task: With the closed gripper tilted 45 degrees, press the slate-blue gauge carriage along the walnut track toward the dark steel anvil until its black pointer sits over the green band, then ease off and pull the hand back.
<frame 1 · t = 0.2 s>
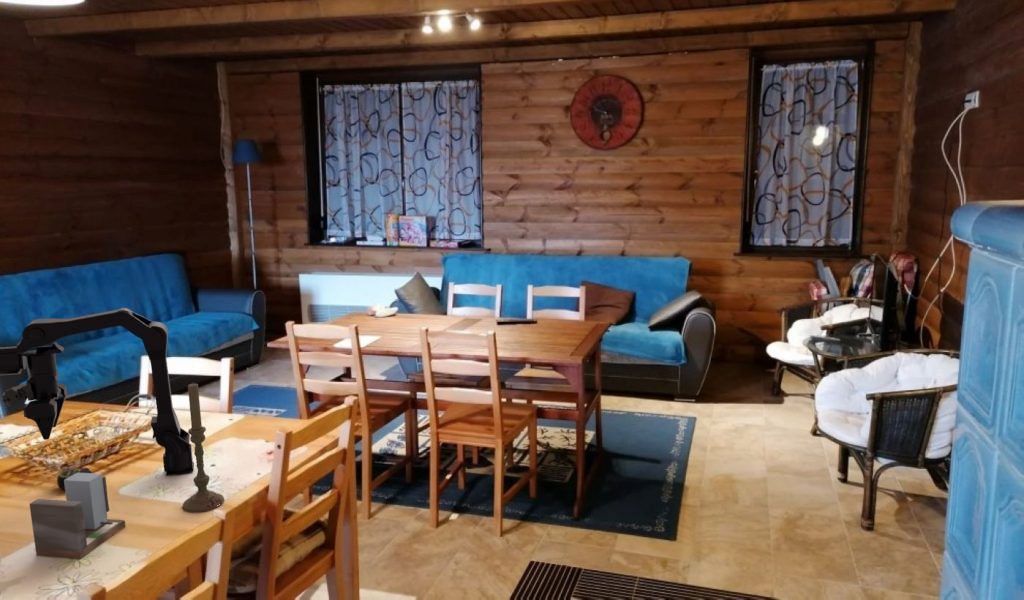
hand: (49, 433, 181), 15 cm above the table, fingers open, 9 cm apart
gauge carriage: (92, 500, 160), point 7 cm above the table, slide at 0.0 cm
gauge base: (83, 536, 159), on the table
candlestick holder: (203, 504, 174), on the table
tape measure: (77, 486, 185), on the table
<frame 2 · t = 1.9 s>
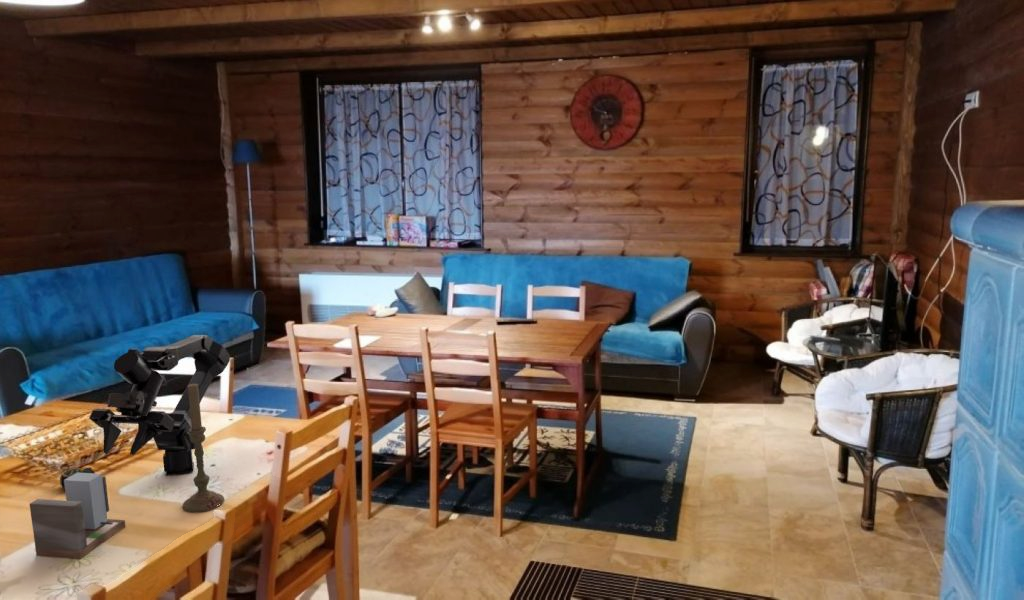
hand: (118, 453, 170), 14 cm above the table, fingers open, 6 cm apart
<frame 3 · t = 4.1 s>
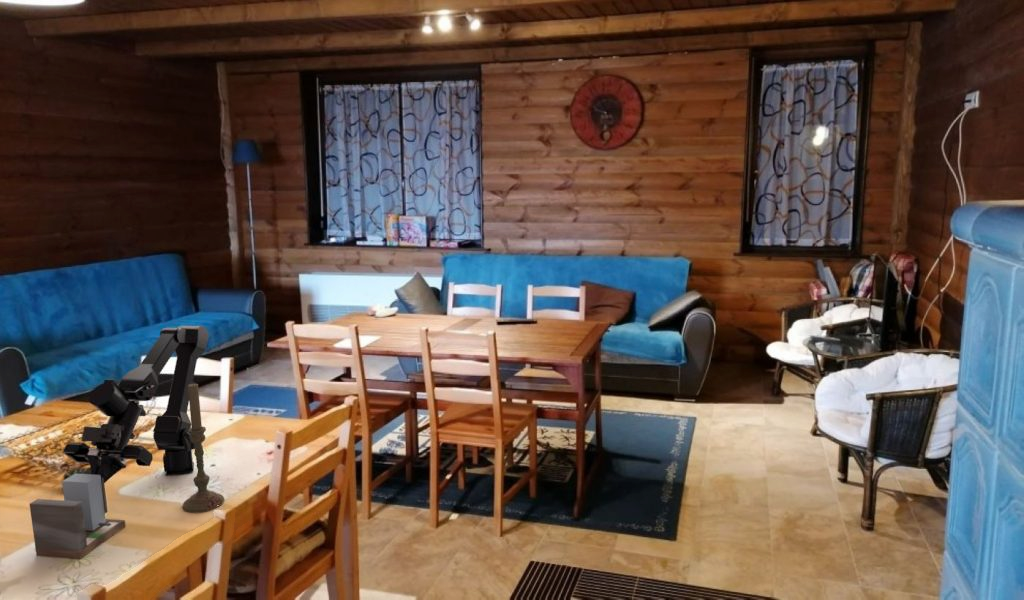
hand: (92, 490, 161), 9 cm above the table, fingers closed, pressing on gauge carriage
gauge carriage: (90, 501, 159), point 7 cm above the table, slide at 0.6 cm, touching gripper
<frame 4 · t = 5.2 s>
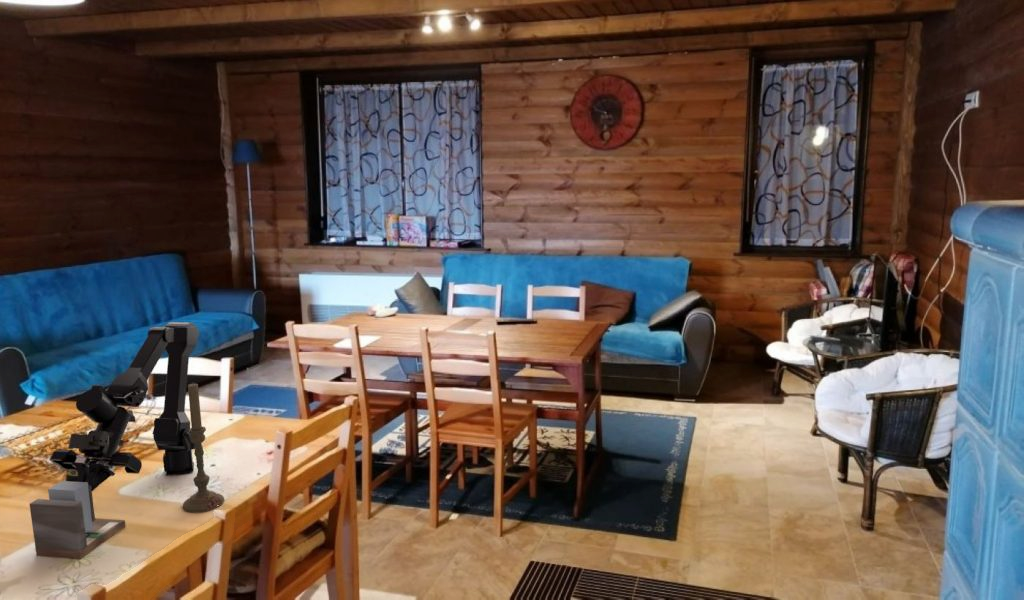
hand: (80, 498, 158), 9 cm above the table, fingers closed
gauge carriage: (77, 509, 155), point 7 cm above the table, slide at 4.5 cm
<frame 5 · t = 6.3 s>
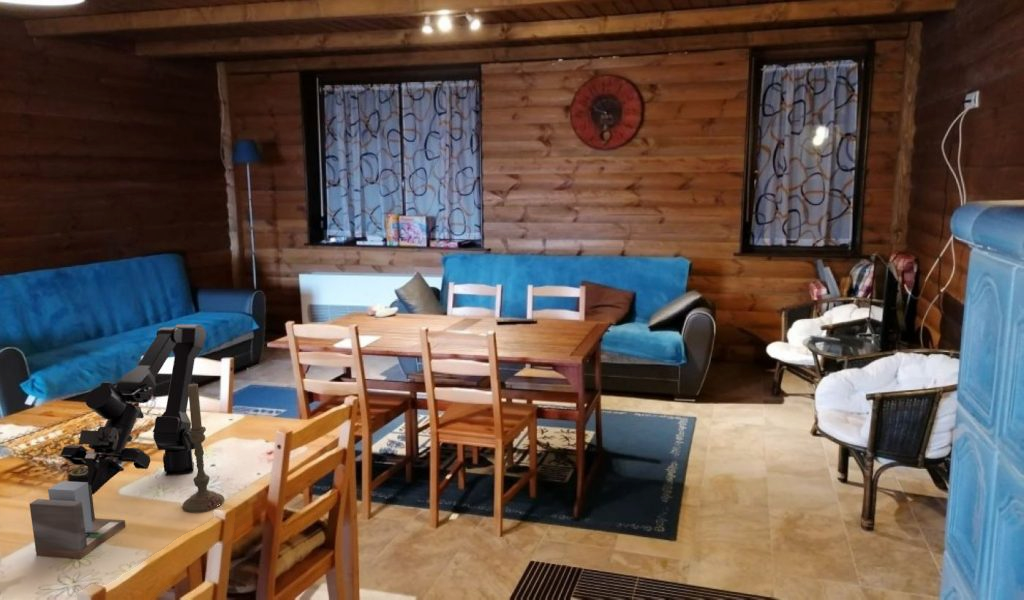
hand: (90, 493, 161), 8 cm above the table, fingers closed
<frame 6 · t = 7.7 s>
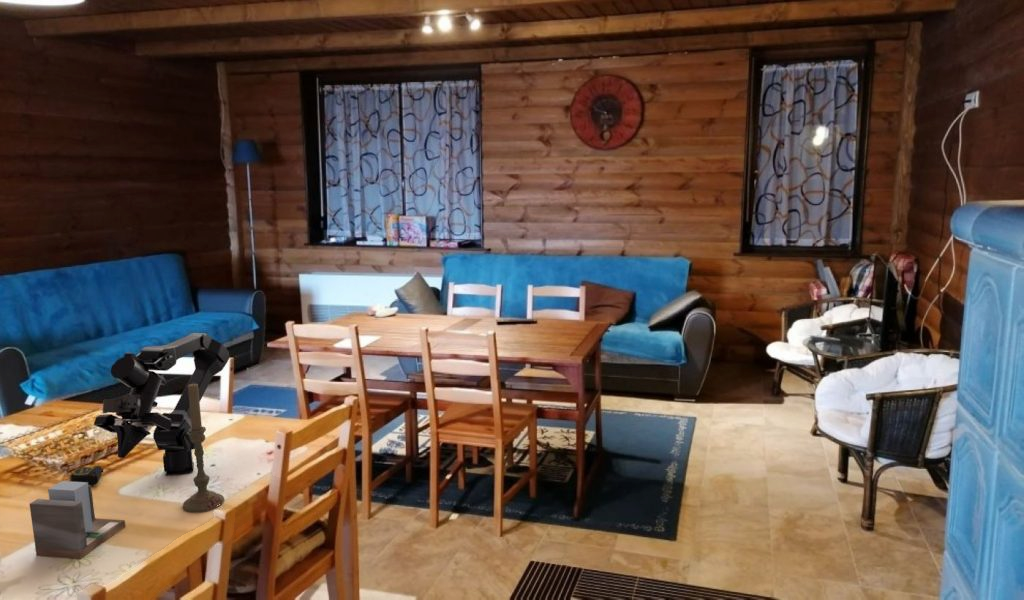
hand: (120, 457, 171), 12 cm above the table, fingers closed
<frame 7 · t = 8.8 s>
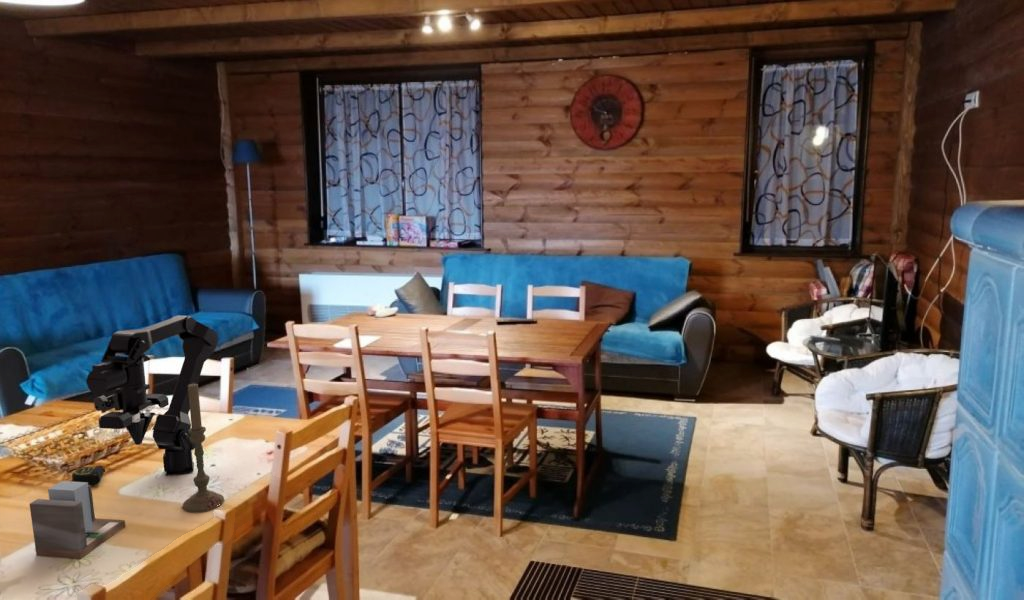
hand: (138, 444, 180), 12 cm above the table, fingers closed
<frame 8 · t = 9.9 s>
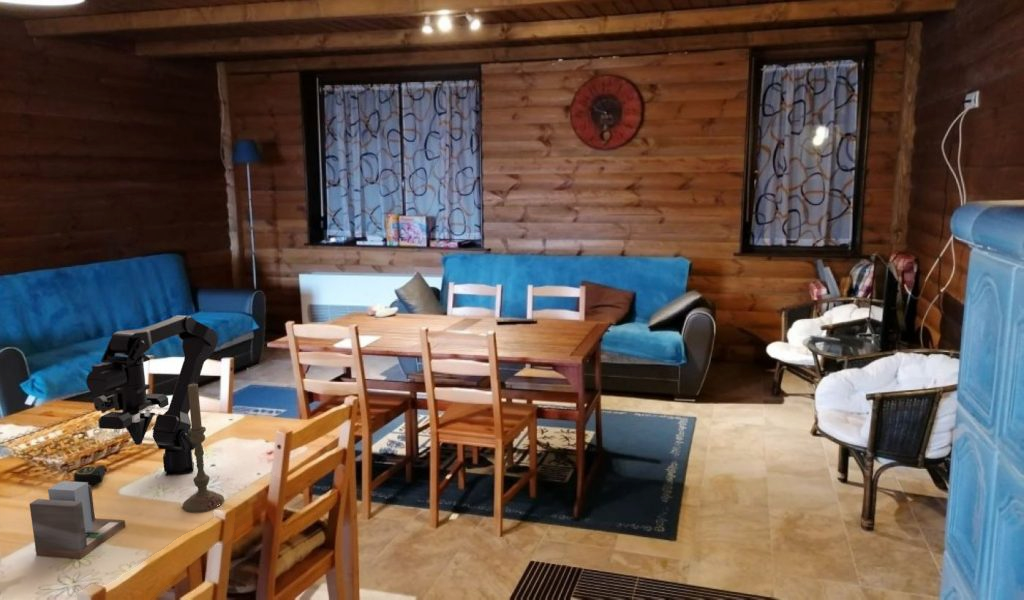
hand: (138, 444, 180), 12 cm above the table, fingers closed
at the end: gauge carriage slide at 4.5 cm; the gripper is holding nothing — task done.
